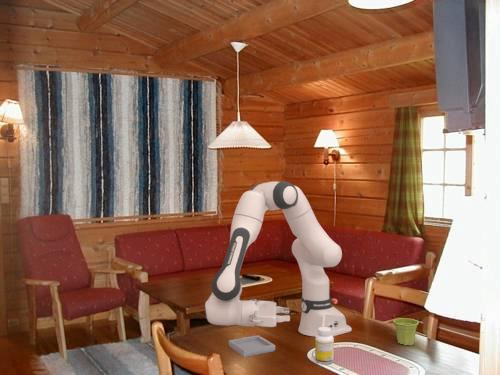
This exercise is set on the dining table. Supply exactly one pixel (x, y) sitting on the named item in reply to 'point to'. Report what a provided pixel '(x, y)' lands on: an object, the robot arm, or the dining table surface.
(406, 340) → the plant pot
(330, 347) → the pill bottle
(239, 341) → the dish
